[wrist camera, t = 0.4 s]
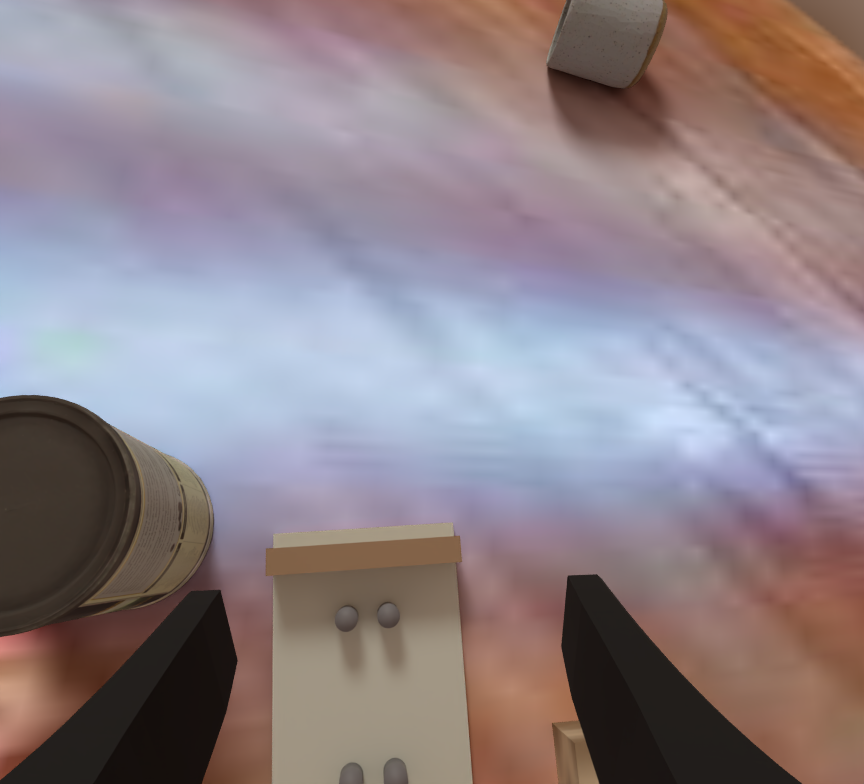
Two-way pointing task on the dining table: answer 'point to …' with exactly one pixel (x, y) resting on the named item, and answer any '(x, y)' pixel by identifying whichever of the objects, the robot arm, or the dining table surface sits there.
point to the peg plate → (368, 657)
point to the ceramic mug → (607, 39)
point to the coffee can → (89, 516)
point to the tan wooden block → (572, 754)
